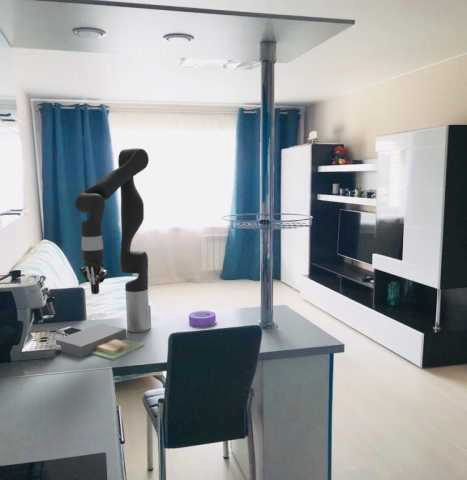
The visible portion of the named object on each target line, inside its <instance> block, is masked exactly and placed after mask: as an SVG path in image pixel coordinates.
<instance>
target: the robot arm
mask: <svg viewBox="0 0 467 480" xmlns="http://www.w3.org/2000/svg"><path fill="white" fill-rule="evenodd" d="M117 160H118V161H117V162H118V168H116V169H114V170H111V171H110V172H108V173H107V174H105V175H104V176H102V178H100V179H99V181H97V182H96V183H95V184H94V185H92V186H90V187H89V188H87V189H85V190H84V191H81V192H80V193H79V194H78V195H77V197H76V199H75V200H74V206H75V208H76V210H77V211H78V212H80V213H83V214H89V216H88V219H84V220H82V222H80V223H81V224H80V227H81V228H80V230H81V253H82V255H81V257H82V261H83V262H84V264H83V267H81V268H79V272H80V273H81V274H82V276H83V278H84V280H85V282H86V283H89V284H90V292H91V295H97V294H99V293H100V284H102V283H103V282H104V280H106V278H107V275H108V274H109V270H108V269H105V268H104V264H103V261H104V259H105V258H104V257H105V256H104V241H103V235H102V234H103V233H102V222H103V217H104V213H105V208H106V204H105V201H106V200H108V199H109V198H111V197H112V196H113V195H114V193H116V192H117V190H118V189H120V225H121V231H120V232H121V239H120V241H121V242H120V258H119V266H120V271H121V273H123V274H138V276H137V277H136V278H135V279H132V280H129V281H127V282H126V283H125V288H124V289H125V305H126V306H125V309H126V327H127V329H126V331H128V332H130V333H144V332H146V331H148V330H150V328H151V327H152V316H151V315H152V313H151V305H150V304H149V257H148V254H147V252H146V251H145V250H135V251H134V250H131V246H132V242H133V239H134V237H135V236H136V234H137V232H138V230H139V229H140V227H142V226H141V225H142V224H143V222H144V219H145V215H144V213H145V211H144V209H145V208H144V207H145V206H144V200H143V199H142V197H141V194H140V192H139V191H138V189H137V188H136V186H135V185H136V184H135V181H134V180H135V179H134V176H136V175H137V174H139V173H140V172H143V170H145V169H146V168H147V167H148V164H149V154H148V152H147V151H146V150H145V149H144V148H141V147H135V148H134V147H132V148H125V149H122V150H120V152H119V155H118V159H117Z"/></svg>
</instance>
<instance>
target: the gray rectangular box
mask: <svg viewBox="0 0 467 480" xmlns="http://www.w3.org/2000/svg"><path fill="white" fill-rule="evenodd" d="M81 330H82V331H79V332H76V333H73V334H71V335H68V336H66V335H64V336H63V337H60V338H57V339H55V345H56V344H57V345H60V346H61V351H60V352H63V353H66V354H69V355H72V356H75V357H80V358H84V357H86V356H89V355H92V352H94V351H96V346H97V345H100V344H102V343H105V342H107V341H110V340H112V339H117V340H123V339H126V340H127V329H126V328H123V327H120V326H119V327H118V326H115V325H111V324H105V323H101V322H100V323H98V324H95V325H93V326H91V327H87V328H85V329H81Z"/></svg>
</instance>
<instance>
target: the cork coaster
mask: <svg viewBox="0 0 467 480" xmlns="http://www.w3.org/2000/svg"><path fill="white" fill-rule="evenodd" d="M130 347H131V343H129V342H125V341H121V340H117V339H112V340H110V341H107V342H105V343H102V344H100V345H97V346H96V350H98V351H101V352H105V353H108V354H112V355H114V354H116V353H118V352H121V351H123V350H125V349H128V348H130Z"/></svg>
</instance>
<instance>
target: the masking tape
mask: <svg viewBox="0 0 467 480" xmlns="http://www.w3.org/2000/svg"><path fill="white" fill-rule="evenodd" d="M216 314H217V313H215V312H213V311H210V310H199V311H192V312H190V313H189V314H188V324H189V325H190V326H194V327H199V328H200V327H202V326H204V327H208V326H207V325H210V324H213V323H214V322H215V321H216V322H217V319H216V316H217V315H216ZM213 325H214V324H213ZM210 326H211V325H210Z"/></svg>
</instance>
